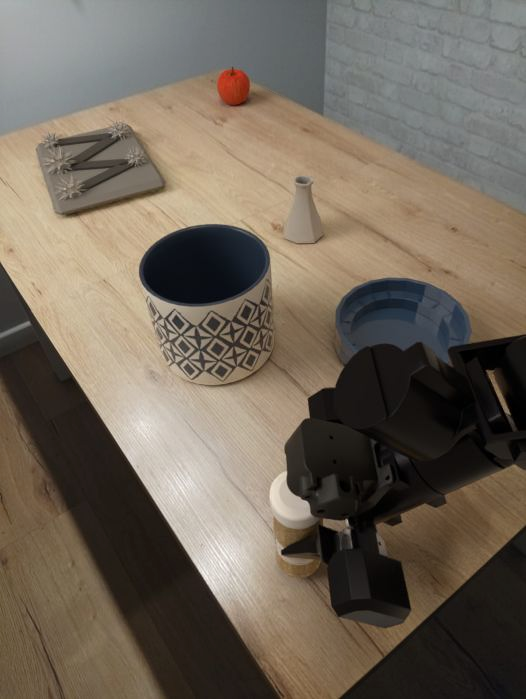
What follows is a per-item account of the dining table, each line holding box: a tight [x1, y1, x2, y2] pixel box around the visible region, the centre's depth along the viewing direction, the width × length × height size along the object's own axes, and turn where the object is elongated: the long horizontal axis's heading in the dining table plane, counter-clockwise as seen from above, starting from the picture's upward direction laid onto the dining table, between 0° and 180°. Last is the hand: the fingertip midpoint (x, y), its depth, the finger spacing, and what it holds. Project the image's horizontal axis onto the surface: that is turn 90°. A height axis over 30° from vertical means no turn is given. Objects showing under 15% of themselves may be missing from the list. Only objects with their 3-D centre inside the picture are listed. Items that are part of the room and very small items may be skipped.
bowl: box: [333, 277, 473, 367], centre depth 69 cm, size 17×17×4 cm
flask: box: [282, 174, 325, 244], centre depth 85 cm, size 7×7×10 cm
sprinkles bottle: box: [268, 470, 324, 579], centre depth 46 cm, size 5×5×13 cm
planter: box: [138, 223, 275, 386], centre depth 67 cm, size 16×16×14 cm
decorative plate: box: [34, 118, 168, 217], centre depth 105 cm, size 30×22×7 cm
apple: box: [216, 66, 251, 106], centre depth 125 cm, size 8×8×8 cm
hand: (282, 528), depth 46 cm, fingers closed on sprinkles bottle, 4 cm apart
